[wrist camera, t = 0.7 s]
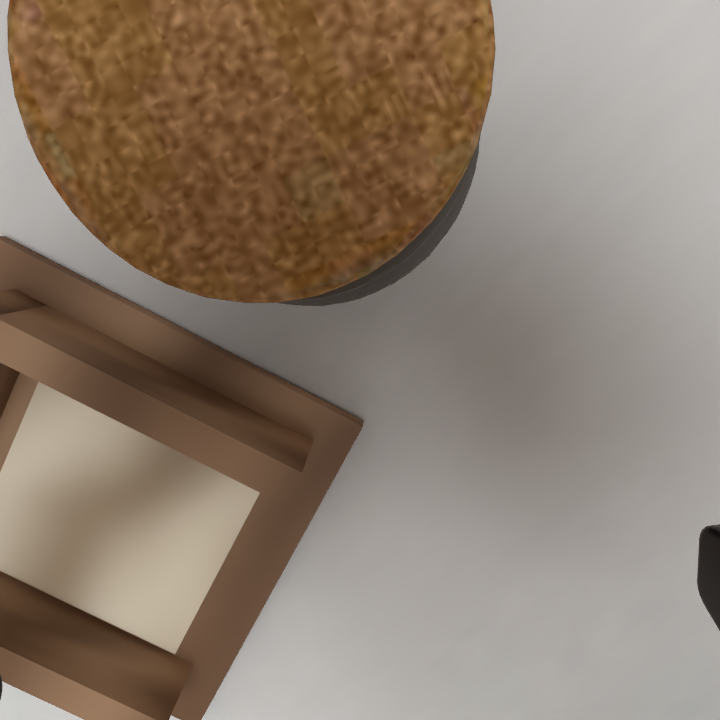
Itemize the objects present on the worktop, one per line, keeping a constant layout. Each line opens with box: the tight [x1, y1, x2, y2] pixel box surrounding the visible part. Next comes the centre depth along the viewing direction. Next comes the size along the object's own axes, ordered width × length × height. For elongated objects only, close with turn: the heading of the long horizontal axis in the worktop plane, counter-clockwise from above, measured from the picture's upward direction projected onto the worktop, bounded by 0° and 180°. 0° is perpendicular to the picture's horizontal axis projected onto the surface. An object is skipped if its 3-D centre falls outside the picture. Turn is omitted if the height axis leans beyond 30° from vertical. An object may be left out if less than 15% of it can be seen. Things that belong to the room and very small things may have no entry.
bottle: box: [7, 0, 495, 306], centre depth 13 cm, size 6×6×15 cm
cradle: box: [0, 236, 363, 720], centre depth 21 cm, size 14×14×4 cm
